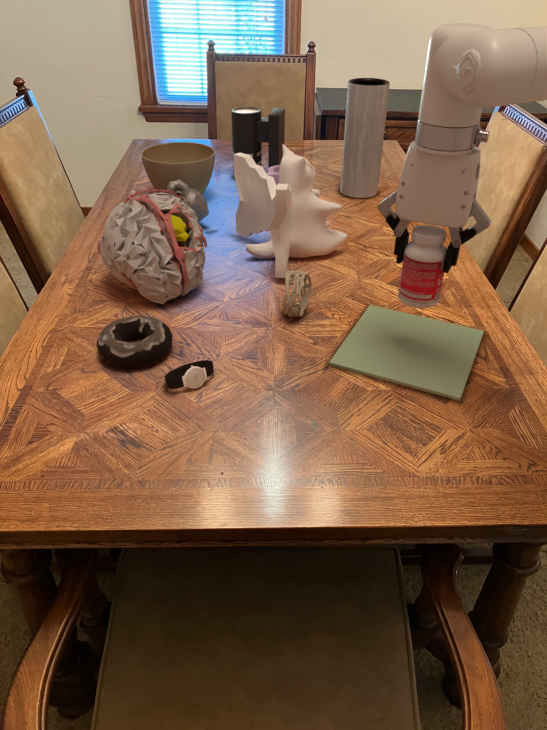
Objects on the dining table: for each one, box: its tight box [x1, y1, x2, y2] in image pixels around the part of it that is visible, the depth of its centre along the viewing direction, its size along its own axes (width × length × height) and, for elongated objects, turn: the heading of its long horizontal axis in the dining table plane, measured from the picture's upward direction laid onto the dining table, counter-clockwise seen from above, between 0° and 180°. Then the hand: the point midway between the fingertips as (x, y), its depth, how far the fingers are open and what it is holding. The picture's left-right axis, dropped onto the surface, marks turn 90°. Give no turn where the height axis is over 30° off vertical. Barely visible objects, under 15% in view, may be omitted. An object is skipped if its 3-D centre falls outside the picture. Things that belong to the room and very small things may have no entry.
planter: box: [339, 77, 391, 199], centre depth 146 cm, size 10×10×27 cm
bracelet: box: [281, 269, 313, 318], centre depth 99 cm, size 4×8×8 cm, turn 166°
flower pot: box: [140, 141, 216, 196], centre depth 145 cm, size 18×18×12 cm
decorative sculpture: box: [97, 188, 208, 305], centre depth 105 cm, size 19×21×20 cm
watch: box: [164, 359, 215, 390], centre depth 84 cm, size 8×5×4 cm, turn 126°
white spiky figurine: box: [232, 143, 348, 279], centre depth 116 cm, size 25×21×21 cm
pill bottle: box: [397, 224, 448, 309], centre depth 84 cm, size 6×6×11 cm
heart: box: [167, 180, 210, 223], centre depth 130 cm, size 10×10×12 cm
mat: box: [328, 304, 485, 402], centre depth 92 cm, size 20×20×1 cm
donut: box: [96, 315, 174, 369], centre depth 90 cm, size 12×12×4 cm
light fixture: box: [230, 106, 286, 179], centre depth 158 cm, size 10×14×18 cm
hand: (424, 263), depth 84 cm, fingers closed on pill bottle, 6 cm apart
